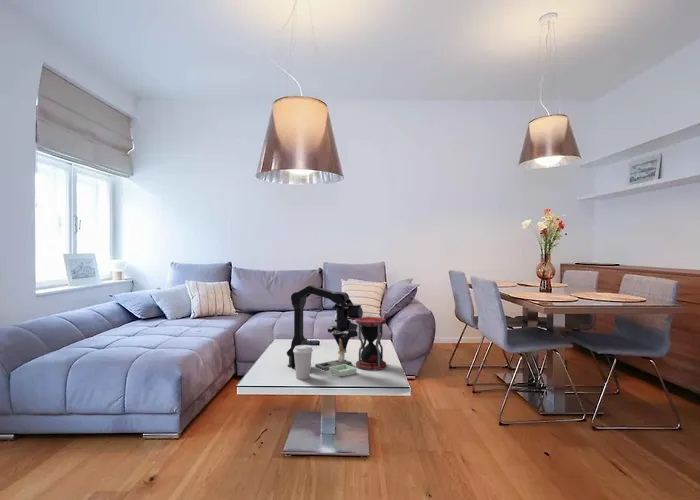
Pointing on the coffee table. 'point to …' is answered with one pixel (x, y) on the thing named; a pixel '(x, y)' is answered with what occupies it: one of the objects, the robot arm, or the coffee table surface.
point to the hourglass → (371, 343)
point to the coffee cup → (302, 361)
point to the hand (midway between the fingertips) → (342, 348)
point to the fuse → (341, 357)
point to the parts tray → (342, 370)
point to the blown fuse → (341, 347)
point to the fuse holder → (330, 364)
